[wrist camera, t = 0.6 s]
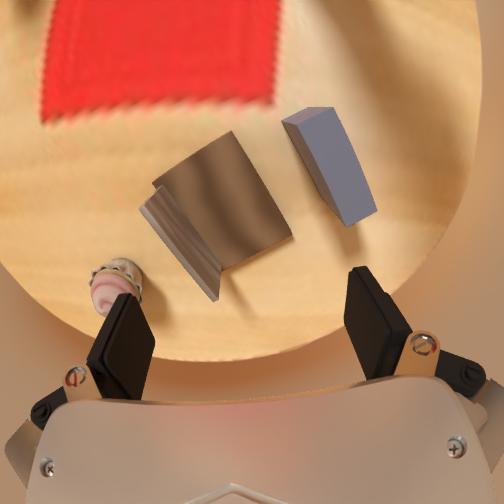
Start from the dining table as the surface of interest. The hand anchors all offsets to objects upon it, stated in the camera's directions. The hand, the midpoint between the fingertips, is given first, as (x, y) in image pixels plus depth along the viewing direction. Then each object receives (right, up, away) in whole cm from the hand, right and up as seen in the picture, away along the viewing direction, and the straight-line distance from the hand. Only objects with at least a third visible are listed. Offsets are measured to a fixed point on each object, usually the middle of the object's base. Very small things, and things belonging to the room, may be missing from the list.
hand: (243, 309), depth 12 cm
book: (+9, +15, +23) cm, 28 cm away
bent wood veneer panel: (-3, +9, +25) cm, 27 cm away
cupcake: (-20, -1, +30) cm, 36 cm away
